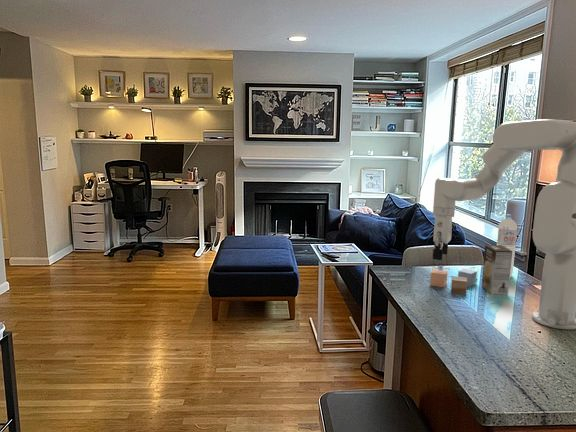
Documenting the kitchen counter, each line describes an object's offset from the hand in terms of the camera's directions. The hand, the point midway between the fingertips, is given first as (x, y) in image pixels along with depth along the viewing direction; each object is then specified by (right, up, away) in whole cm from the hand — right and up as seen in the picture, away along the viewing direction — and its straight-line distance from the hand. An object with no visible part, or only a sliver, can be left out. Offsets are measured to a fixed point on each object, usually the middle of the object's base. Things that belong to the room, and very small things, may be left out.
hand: (440, 256), depth 167 cm
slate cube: (+11, -11, +3) cm, 16 cm away
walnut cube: (+4, -12, -7) cm, 14 cm away
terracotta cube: (0, -11, +2) cm, 11 cm away
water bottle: (+31, -9, +15) cm, 35 cm away
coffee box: (+18, -12, -4) cm, 22 cm away
